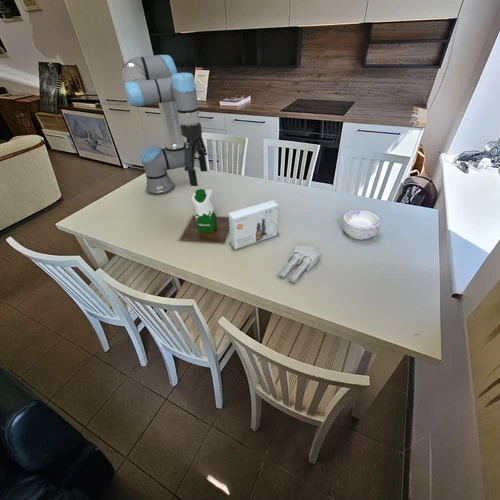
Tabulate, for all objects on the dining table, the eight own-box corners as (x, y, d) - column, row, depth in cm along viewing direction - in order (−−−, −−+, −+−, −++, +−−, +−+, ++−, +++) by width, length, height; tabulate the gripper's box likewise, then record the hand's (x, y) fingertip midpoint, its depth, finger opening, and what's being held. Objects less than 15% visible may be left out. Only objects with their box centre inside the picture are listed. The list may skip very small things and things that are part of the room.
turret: (275, 278, 107) (274, 270, 103) (302, 245, 116) (302, 237, 113) (297, 289, 101) (297, 281, 98) (324, 255, 111) (325, 246, 108)
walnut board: (194, 216, 140) (194, 215, 139) (233, 218, 137) (233, 217, 136) (180, 240, 124) (180, 239, 124) (223, 243, 121) (223, 242, 121)
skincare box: (235, 250, 117) (232, 218, 107) (230, 243, 121) (226, 212, 111) (278, 235, 124) (279, 204, 114) (271, 229, 128) (272, 198, 118)
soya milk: (196, 233, 127) (188, 193, 115) (201, 222, 134) (194, 184, 122) (215, 233, 126) (209, 194, 114) (218, 222, 133) (213, 184, 121)
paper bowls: (351, 220, 131) (354, 205, 126) (382, 232, 122) (387, 217, 117) (333, 234, 123) (336, 219, 118) (365, 248, 114) (370, 233, 109)
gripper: (189, 134, 91) (199, 192, 105) (209, 114, 110) (215, 165, 124) (167, 134, 92) (180, 192, 106) (191, 114, 111) (199, 165, 125)
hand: (199, 178), depth 115 cm, fingers open, 13 cm apart
